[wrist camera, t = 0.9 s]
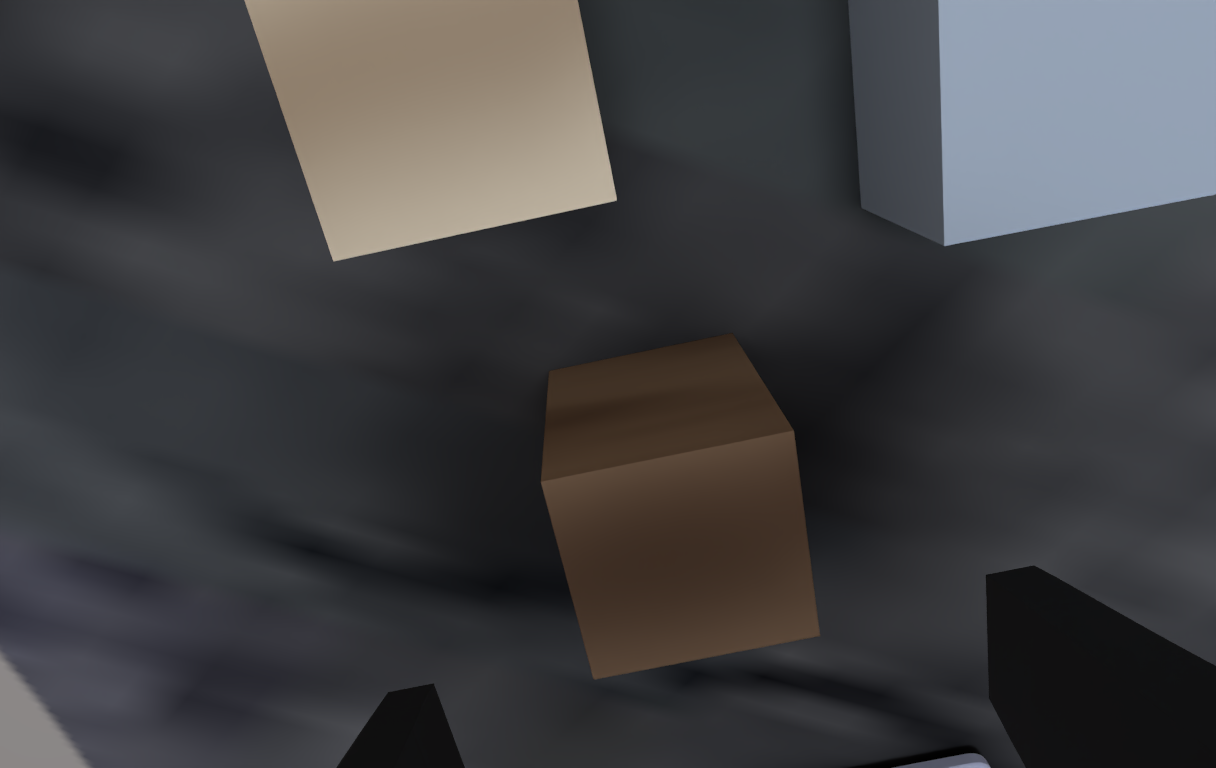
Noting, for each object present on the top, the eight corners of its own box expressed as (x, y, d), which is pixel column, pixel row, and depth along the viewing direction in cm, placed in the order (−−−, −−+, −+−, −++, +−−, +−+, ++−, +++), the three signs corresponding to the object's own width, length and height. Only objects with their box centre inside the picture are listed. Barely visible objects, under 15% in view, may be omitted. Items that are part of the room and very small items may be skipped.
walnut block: (756, 492, 18) (820, 636, 14) (587, 526, 18) (593, 679, 14) (732, 332, 17) (793, 430, 12) (549, 370, 17) (540, 482, 12)
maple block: (602, 162, 15) (617, 200, 11) (404, 205, 15) (333, 261, 11) (556, -67, 14) (550, -138, 9) (337, -17, 14) (223, -63, 9)
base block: (1151, 150, 16) (1328, 172, 12) (858, 206, 16) (944, 245, 12) (1176, -202, 14) (1402, -306, 10) (836, -132, 14) (933, -208, 10)
